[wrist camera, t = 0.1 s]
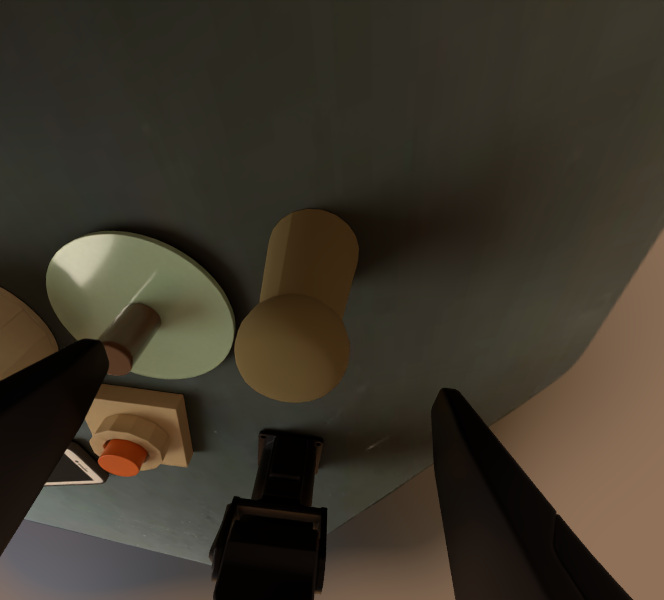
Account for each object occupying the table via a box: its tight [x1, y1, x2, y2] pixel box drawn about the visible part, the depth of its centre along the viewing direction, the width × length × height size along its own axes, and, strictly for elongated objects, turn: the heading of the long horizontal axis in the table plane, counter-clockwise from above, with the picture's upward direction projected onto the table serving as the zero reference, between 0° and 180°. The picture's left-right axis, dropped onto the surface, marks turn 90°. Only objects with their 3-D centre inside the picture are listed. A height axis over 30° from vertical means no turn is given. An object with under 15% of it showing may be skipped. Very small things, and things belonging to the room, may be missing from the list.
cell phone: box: [44, 442, 109, 486], centre depth 42 cm, size 8×15×1 cm, turn 100°
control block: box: [85, 384, 193, 471], centre depth 35 cm, size 10×9×4 cm
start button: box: [98, 439, 148, 476], centre depth 33 cm, size 4×4×2 cm
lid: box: [46, 231, 236, 379], centre depth 25 cm, size 14×14×6 cm
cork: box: [234, 209, 359, 403], centre depth 20 cm, size 6×6×11 cm
